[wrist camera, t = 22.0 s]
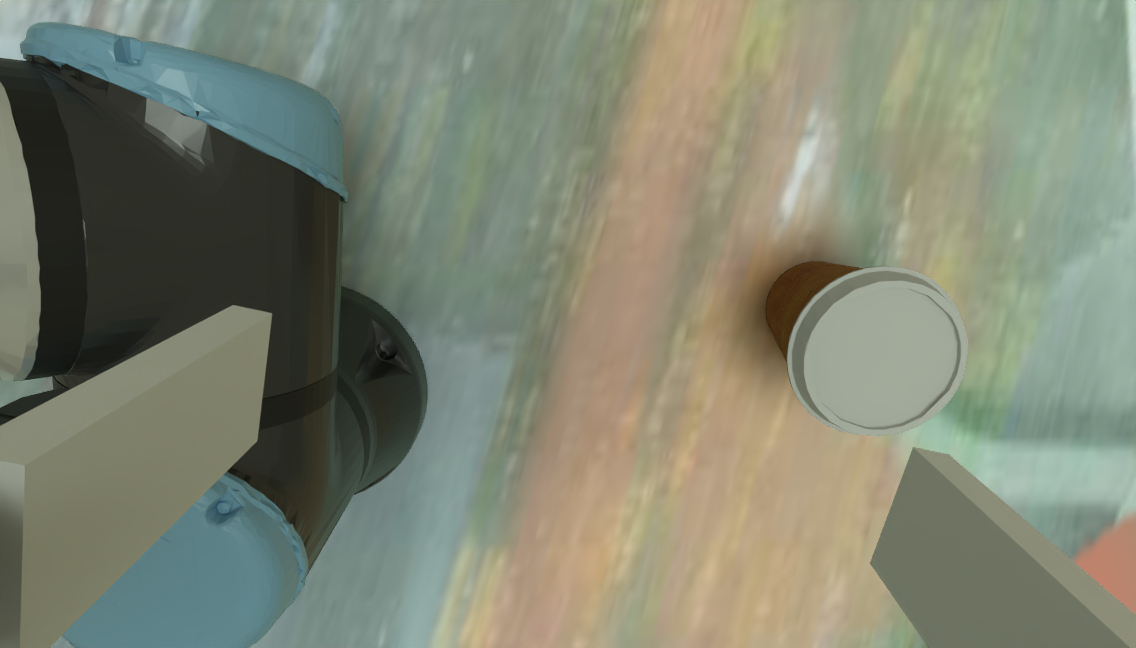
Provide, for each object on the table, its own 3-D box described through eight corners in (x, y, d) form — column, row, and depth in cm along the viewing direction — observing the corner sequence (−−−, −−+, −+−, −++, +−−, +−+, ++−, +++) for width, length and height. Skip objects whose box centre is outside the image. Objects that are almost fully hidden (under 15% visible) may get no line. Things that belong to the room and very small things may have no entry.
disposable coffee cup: (774, 218, 48) (839, 245, 36) (905, 264, 49) (1010, 305, 37) (720, 348, 50) (765, 413, 39) (846, 390, 51) (927, 466, 39)
